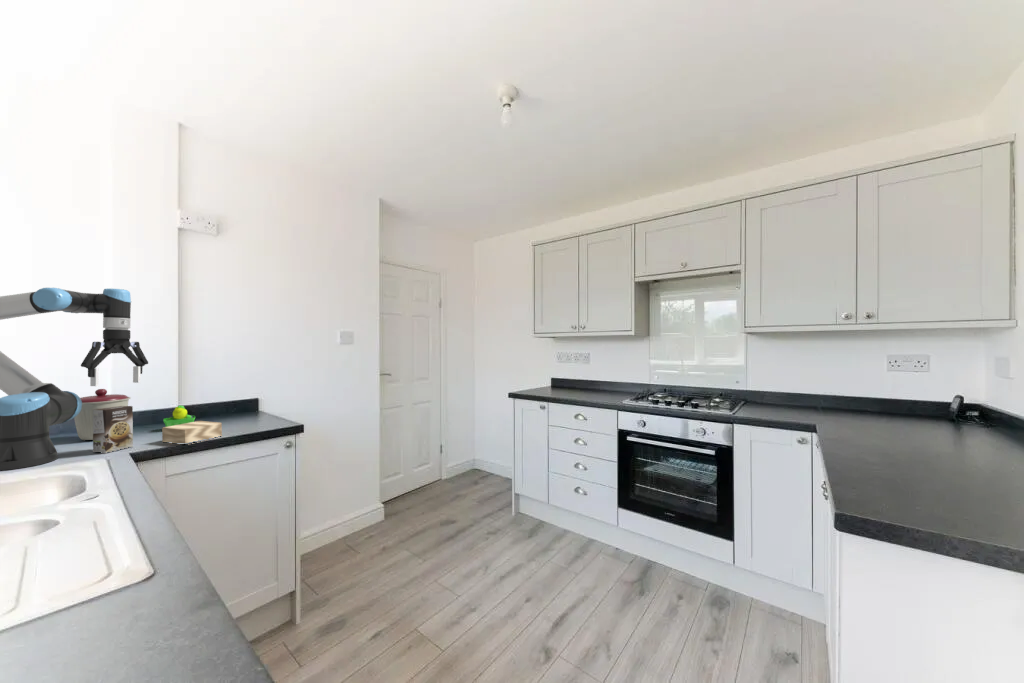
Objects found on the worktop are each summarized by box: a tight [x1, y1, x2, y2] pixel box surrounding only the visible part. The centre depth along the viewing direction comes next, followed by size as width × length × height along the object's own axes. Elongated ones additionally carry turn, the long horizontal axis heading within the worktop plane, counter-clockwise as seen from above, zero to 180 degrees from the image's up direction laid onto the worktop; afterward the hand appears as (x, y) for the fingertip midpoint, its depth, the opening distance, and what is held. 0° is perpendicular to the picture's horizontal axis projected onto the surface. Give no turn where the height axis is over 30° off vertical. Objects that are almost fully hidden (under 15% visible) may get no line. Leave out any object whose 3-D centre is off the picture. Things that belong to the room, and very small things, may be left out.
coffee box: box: [92, 405, 134, 454], centre depth 150 cm, size 9×6×16 cm
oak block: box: [161, 420, 223, 444], centre depth 164 cm, size 14×14×6 cm
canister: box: [73, 388, 132, 441], centre depth 169 cm, size 18×18×21 cm
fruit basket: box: [163, 405, 196, 427], centre depth 186 cm, size 11×9×11 cm
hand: (116, 384), depth 152 cm, fingers open, 13 cm apart
